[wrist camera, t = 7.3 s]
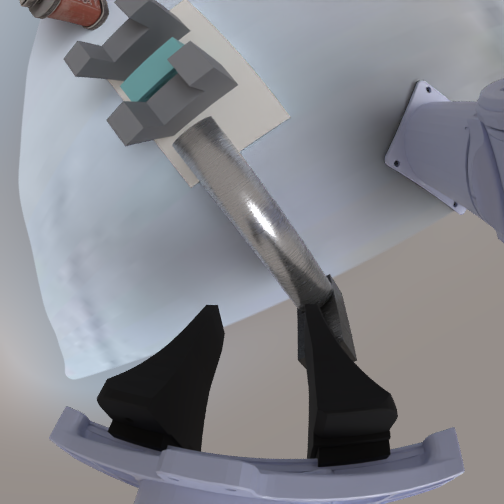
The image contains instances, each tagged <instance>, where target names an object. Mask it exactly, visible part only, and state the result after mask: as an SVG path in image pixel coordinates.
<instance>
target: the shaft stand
mask: <svg viewBox="0 0 504 504" xmlns="http://www.w3.org/2000/svg"><path fill="white" fill-rule="evenodd" d="M114 3H115V4H116V5H117V6H118V7H119V8H120V9H121V10H122V11H123V12H124V13H125V14H126V15H127V16H128V17H129V19H128V20H127V21H126V22H125V23H124V24H123V25H122V26H121V27H120V28H119V29H118V30H117V31H116V32H115V33H114V34H113V35H112V36H111V37H110V38H109V39H108V40H107V41H106V42H105V43H104V44H103V45H102V46H99V45H95V44H90V43H86V42H81V41H77V42H76V44H75V45H74V46H73V47H72V49H71V50H70V51H69V52H68V54H67V55H66V56H65V58H64V60H65V62H66V63H67V65H68V66H69V68H70V69H71V71H72V72H73V74H74V75H75V77H89V78H101V79H107V80H108V81H109V82H110V83H111V85H112V86H113V87H114V89H115V90H116V91H117V93H118V94H119V95H120V97H121V98H122V99H123V102H122V103H121V104H120V105H119V107H118V108H117V109H116V110H115V111H114V112H113V113H112V114H111V116H110V117H109V118H108V119H107V122H108V123H109V125H110V126H111V127H112V129H113V130H114V131H115V133H116V134H117V135H118V137H119V138H120V139H121V141H122V142H123V143H124V145H125V146H129V145H133V144H137V143H141V142H146V141H150V140H154V141H155V142H156V144H157V145H158V146H159V147H160V149H161V150H162V151H163V153H164V154H165V155H166V156H167V158H168V159H169V160H170V162H171V163H172V164H173V165H174V167H175V168H176V169H177V171H178V172H179V173H180V174H181V176H182V177H183V178H184V180H185V181H186V182H187V183H188V185H189V186H190V187H191V188H192V187H193V186H194V185H196V184H197V183H198V182H200V181H199V180H198V179H197V177H196V176H195V175H194V174H193V172H192V171H191V170H190V168H189V167H188V166H187V164H186V163H185V162H184V161H183V159H182V158H181V157H180V155H179V154H178V153H177V152H176V150H175V149H174V148H173V146H172V145H173V143H174V142H175V140H176V139H177V138H178V137H179V136H180V135H181V134H183V133H184V132H185V131H186V130H187V129H189V128H190V127H191V126H193V125H194V124H196V123H197V122H199V121H201V120H202V119H204V118H207V117H209V116H212V117H213V119H214V120H215V121H216V122H217V124H218V125H219V126H220V128H221V129H222V130H223V131H224V133H225V134H226V135H227V137H228V138H229V139H230V140H231V142H232V143H233V144H234V146H235V147H236V148H237V150H238V151H239V152H240V151H241V150H243V149H244V148H245V147H247V146H248V145H250V144H251V143H253V142H254V141H256V140H257V139H258V138H260V137H261V136H263V135H264V134H266V133H267V132H269V131H270V130H272V129H273V128H275V127H276V126H278V125H280V124H281V123H283V122H284V121H286V120H287V119H289V118H290V116H289V114H288V113H287V112H286V110H285V109H284V108H283V106H282V105H281V104H280V102H279V101H278V100H277V98H276V97H275V96H274V95H273V93H272V92H271V91H270V89H269V88H268V87H267V86H266V84H265V83H264V82H263V81H262V79H261V78H260V77H259V76H258V75H257V73H256V72H255V71H254V70H253V69H252V67H251V66H250V65H249V64H248V63H247V62H246V60H245V59H244V58H243V57H242V56H241V55H240V53H239V52H238V51H237V50H236V49H235V48H234V47H233V46H232V45H231V43H230V42H229V41H228V40H227V39H226V38H225V37H224V36H223V35H222V34H221V33H220V32H219V31H218V30H217V29H216V28H215V27H214V26H213V25H212V24H211V23H210V22H209V21H208V20H207V19H206V18H205V17H204V16H203V15H202V14H201V13H200V12H199V11H198V10H197V9H196V8H195V7H194V6H193V5H192V4H191V3H190V2H189V1H188V0H183V1H182V2H180V3H179V4H177V5H176V6H175V7H173V8H172V9H171V10H170V11H169V10H167V9H166V8H165V7H164V6H162V5H161V4H160V3H158V2H157V1H155V0H116V1H115V2H114ZM172 37H173V38H175V39H176V40H178V41H180V42H181V43H183V44H184V46H182V47H181V48H180V49H179V50H178V51H176V52H175V53H174V54H173V55H172V56H170V57H169V58H168V59H167V60H168V61H169V63H170V64H171V65H172V66H173V67H174V68H175V70H176V71H177V72H178V73H177V74H176V75H175V76H174V77H173V78H172V79H170V80H169V81H168V82H167V83H166V84H165V85H164V86H163V87H161V88H160V89H159V90H158V91H157V92H156V93H155V94H154V95H153V96H152V97H151V98H150V99H149V100H148V101H147V102H133V101H131V100H130V99H129V98H128V96H127V95H126V94H125V92H124V91H123V90H122V89H121V87H120V85H121V84H122V83H123V82H124V81H125V80H126V79H127V78H128V77H129V76H130V75H131V74H132V73H133V72H134V71H135V70H136V69H137V68H138V67H139V66H140V65H141V64H142V63H143V62H144V61H145V60H146V59H147V58H149V57H150V56H151V55H152V54H153V53H154V52H155V51H156V50H157V49H159V48H160V47H161V46H162V45H163V44H164V43H166V42H167V41H168V40H169V39H170V38H172Z"/></svg>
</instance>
